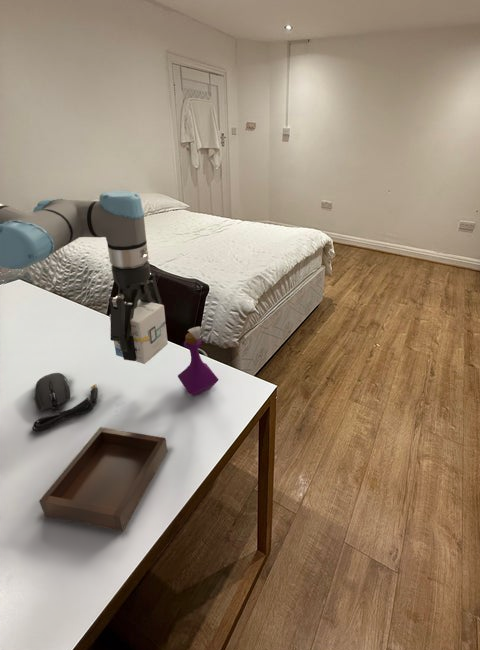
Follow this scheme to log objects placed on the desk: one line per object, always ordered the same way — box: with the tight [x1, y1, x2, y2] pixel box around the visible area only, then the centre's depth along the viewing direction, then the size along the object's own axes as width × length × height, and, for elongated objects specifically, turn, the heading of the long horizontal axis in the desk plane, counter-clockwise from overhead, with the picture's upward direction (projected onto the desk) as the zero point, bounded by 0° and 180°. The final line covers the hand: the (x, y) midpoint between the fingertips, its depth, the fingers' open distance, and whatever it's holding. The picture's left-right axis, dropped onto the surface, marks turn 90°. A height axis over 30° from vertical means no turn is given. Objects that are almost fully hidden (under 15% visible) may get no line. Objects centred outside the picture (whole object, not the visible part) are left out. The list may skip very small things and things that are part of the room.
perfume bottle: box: [177, 326, 219, 397], centre depth 77 cm, size 8×8×18 cm
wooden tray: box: [38, 426, 168, 532], centre depth 58 cm, size 14×14×4 cm
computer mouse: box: [31, 372, 99, 432], centre depth 75 cm, size 12×18×4 cm
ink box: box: [108, 299, 169, 365], centre depth 77 cm, size 9×8×12 cm
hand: (142, 346), depth 79 cm, fingers closed on ink box, 9 cm apart
